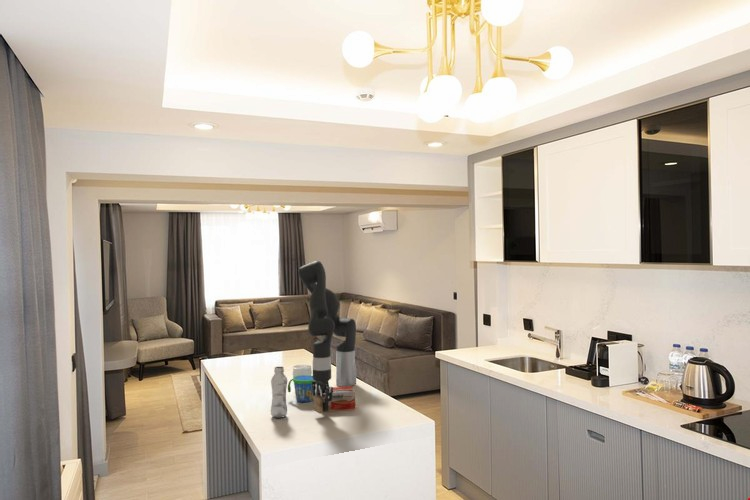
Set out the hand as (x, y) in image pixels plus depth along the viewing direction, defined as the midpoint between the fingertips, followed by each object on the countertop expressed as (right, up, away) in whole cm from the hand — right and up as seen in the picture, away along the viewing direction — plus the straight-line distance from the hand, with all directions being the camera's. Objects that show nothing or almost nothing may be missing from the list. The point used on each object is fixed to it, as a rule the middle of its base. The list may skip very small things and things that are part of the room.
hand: (322, 409), depth 207 cm
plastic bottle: (-18, -3, 0) cm, 18 cm away
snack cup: (-10, -3, +23) cm, 26 cm away
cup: (-13, -4, +37) cm, 39 cm away
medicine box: (+5, -4, +12) cm, 14 cm away
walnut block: (0, -1, 0) cm, 1 cm away
